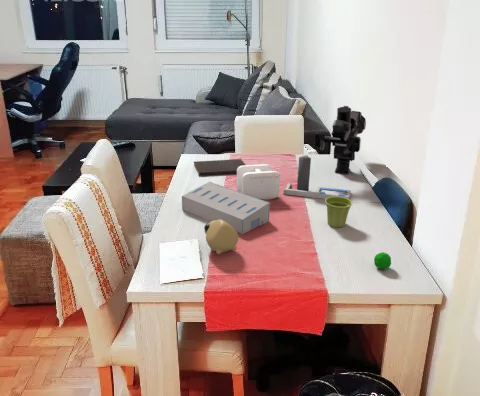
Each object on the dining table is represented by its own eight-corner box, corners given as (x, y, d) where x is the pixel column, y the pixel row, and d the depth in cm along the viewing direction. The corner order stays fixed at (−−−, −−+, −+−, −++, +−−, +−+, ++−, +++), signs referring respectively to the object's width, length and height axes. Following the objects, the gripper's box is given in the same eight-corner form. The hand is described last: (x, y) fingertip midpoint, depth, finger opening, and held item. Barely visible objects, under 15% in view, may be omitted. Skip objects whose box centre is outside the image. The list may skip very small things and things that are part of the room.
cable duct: (288, 184, 213) (289, 178, 212) (350, 191, 207) (351, 185, 206) (283, 193, 203) (283, 188, 202) (348, 201, 196) (349, 195, 195)
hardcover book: (193, 166, 235) (193, 161, 234) (241, 163, 240) (241, 159, 239) (199, 177, 221) (199, 172, 220) (249, 174, 226) (249, 169, 225)
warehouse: (182, 210, 187) (181, 191, 184) (209, 199, 197) (209, 181, 194) (242, 235, 168) (242, 214, 165) (268, 222, 178) (269, 202, 175)
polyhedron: (387, 263, 151) (389, 249, 149) (392, 272, 147) (394, 257, 145) (371, 263, 151) (372, 249, 149) (375, 272, 146) (377, 257, 145)
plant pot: (351, 220, 180) (354, 198, 176) (347, 231, 171) (350, 208, 168) (325, 217, 182) (327, 194, 179) (320, 227, 174) (322, 204, 171)
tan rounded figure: (227, 239, 164) (227, 209, 160) (243, 255, 154) (244, 224, 150) (199, 244, 160) (198, 214, 156) (214, 261, 150) (214, 229, 146)
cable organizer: (271, 190, 207) (272, 163, 202) (279, 199, 197) (280, 171, 193) (236, 192, 203) (236, 165, 199) (242, 202, 194) (243, 174, 189)
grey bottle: (297, 187, 210) (300, 153, 204) (309, 189, 208) (311, 154, 203) (295, 191, 205) (298, 156, 200) (307, 193, 204) (310, 158, 198)
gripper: (320, 114, 213) (310, 131, 201) (364, 119, 206) (356, 136, 194) (320, 137, 219) (310, 154, 208) (363, 142, 212) (354, 161, 201)
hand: (332, 151), depth 203 cm, fingers open, 9 cm apart
